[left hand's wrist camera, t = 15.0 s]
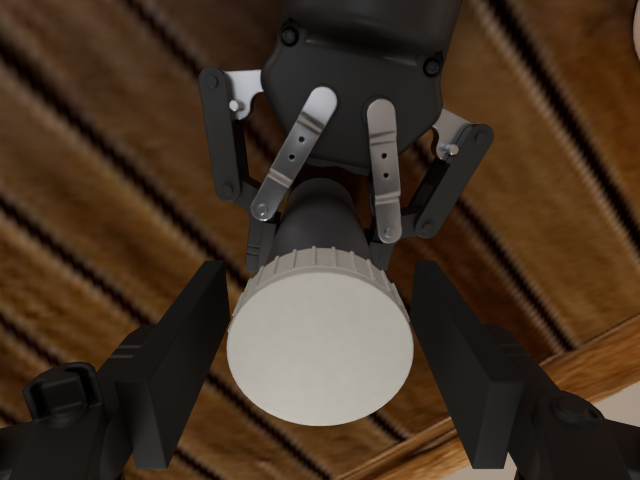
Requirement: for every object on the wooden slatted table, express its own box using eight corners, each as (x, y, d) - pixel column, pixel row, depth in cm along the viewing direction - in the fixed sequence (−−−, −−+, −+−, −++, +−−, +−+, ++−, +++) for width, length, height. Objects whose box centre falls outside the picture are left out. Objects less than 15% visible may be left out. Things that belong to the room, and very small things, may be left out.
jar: (277, 230, 26) (225, 378, 12) (299, 167, 24) (269, 250, 10) (339, 251, 26) (361, 418, 12) (364, 191, 25) (424, 303, 11)
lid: (307, 409, 14) (305, 454, 12) (202, 309, 12) (182, 342, 10) (434, 333, 12) (452, 369, 11) (335, 209, 11) (338, 228, 9)
